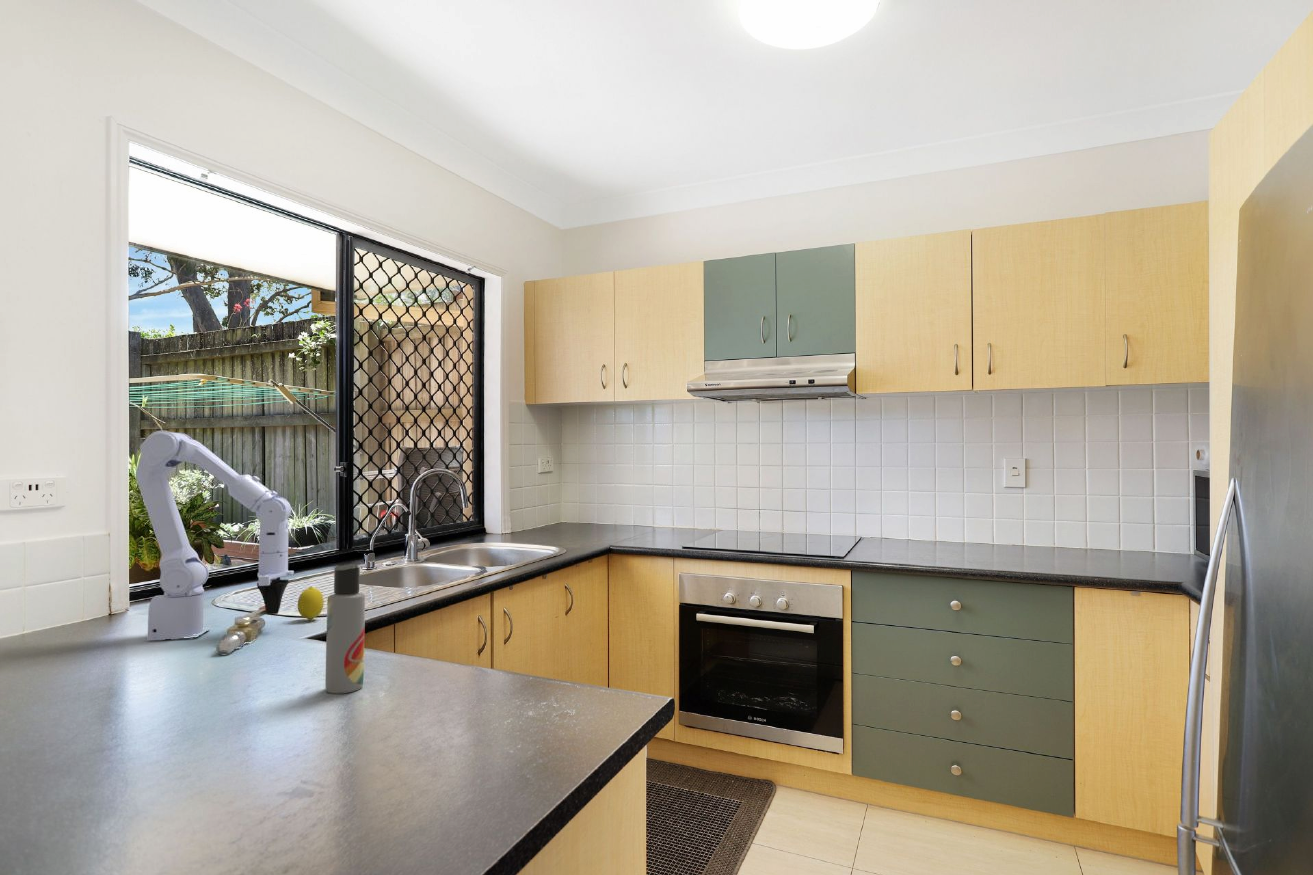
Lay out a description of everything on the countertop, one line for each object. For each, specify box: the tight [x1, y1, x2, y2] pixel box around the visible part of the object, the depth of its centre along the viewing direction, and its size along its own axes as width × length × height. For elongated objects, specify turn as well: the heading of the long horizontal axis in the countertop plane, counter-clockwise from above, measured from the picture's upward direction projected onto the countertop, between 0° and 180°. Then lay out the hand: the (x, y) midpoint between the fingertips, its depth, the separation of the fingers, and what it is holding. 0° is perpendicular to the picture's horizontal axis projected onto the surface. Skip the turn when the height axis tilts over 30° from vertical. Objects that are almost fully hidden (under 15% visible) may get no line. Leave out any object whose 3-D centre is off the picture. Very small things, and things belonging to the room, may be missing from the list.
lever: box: [234, 605, 268, 625], centre depth 151 cm, size 14×3×1 cm, turn 7°
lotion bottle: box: [324, 563, 366, 695], centre depth 114 cm, size 6×6×20 cm
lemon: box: [297, 586, 324, 621], centre depth 166 cm, size 6×6×8 cm
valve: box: [216, 617, 266, 655], centre depth 145 cm, size 22×4×4 cm, turn 15°
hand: (272, 613), depth 155 cm, fingers closed, pressing on lever
